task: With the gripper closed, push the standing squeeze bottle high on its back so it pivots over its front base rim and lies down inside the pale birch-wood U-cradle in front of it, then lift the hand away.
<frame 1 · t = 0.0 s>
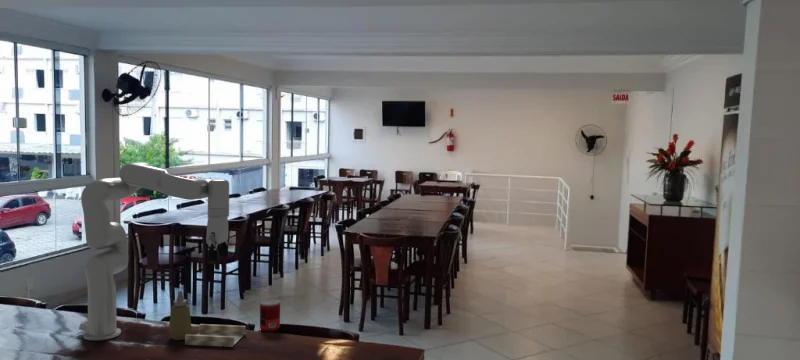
hand: (218, 258, 204), 31 cm above the table, tool pointing down, fingers open, 9 cm apart
canned food: (269, 329, 220), on the table
squeeze bottle: (180, 338, 207), on the table
cradle: (216, 339, 206), on the table
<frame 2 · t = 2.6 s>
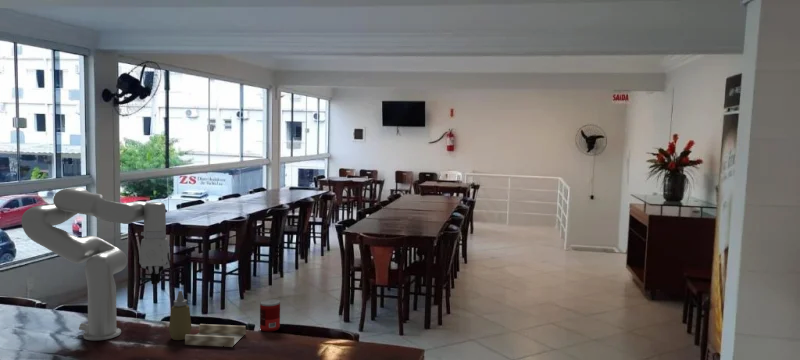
hand: (155, 283, 207), 21 cm above the table, tool pointing down, fingers closed
nothing on the table moved.
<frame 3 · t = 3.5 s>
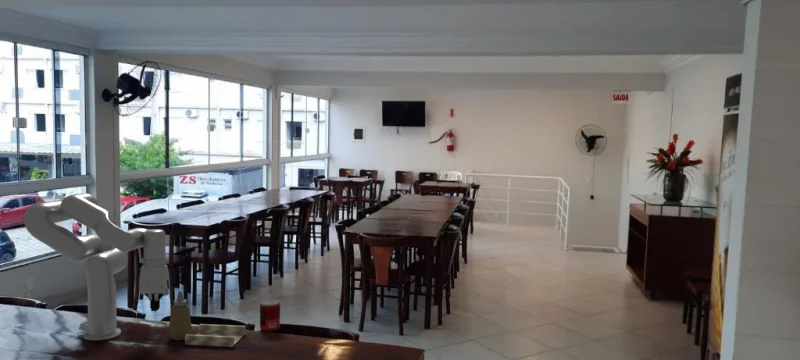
hand: (155, 310, 207), 10 cm above the table, tool pointing down, fingers closed
nothing on the table moved.
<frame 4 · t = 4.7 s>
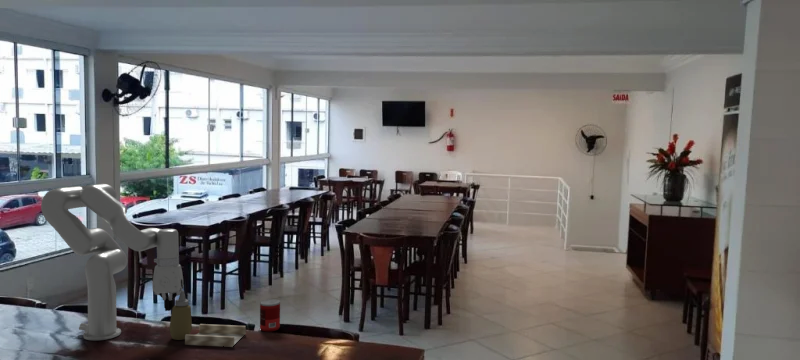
hand: (169, 309, 207), 11 cm above the table, tool pointing down, fingers closed
squeeze bottle: (180, 338, 207), on the table, touching gripper
everything else where it was.
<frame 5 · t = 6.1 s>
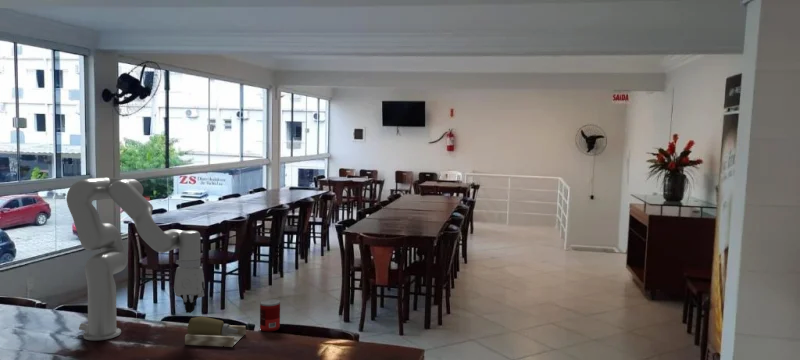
hand: (189, 311, 206), 10 cm above the table, tool pointing down, fingers closed
squeeze bottle: (189, 325, 206), point 5 cm above the table, touching cradle
everything else where it was.
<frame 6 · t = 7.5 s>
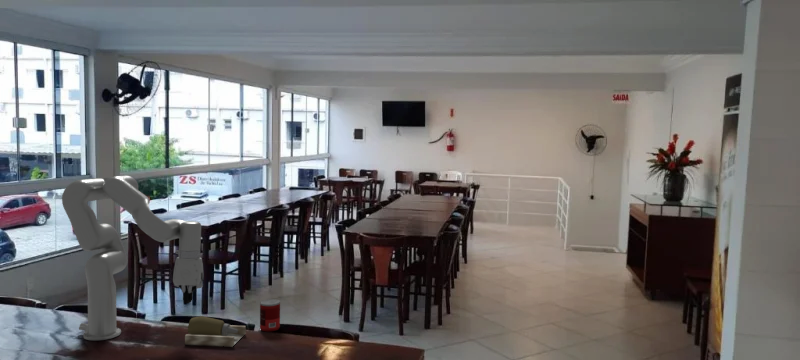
hand: (187, 302, 206), 14 cm above the table, tool pointing down, fingers closed
nothing on the table moved.
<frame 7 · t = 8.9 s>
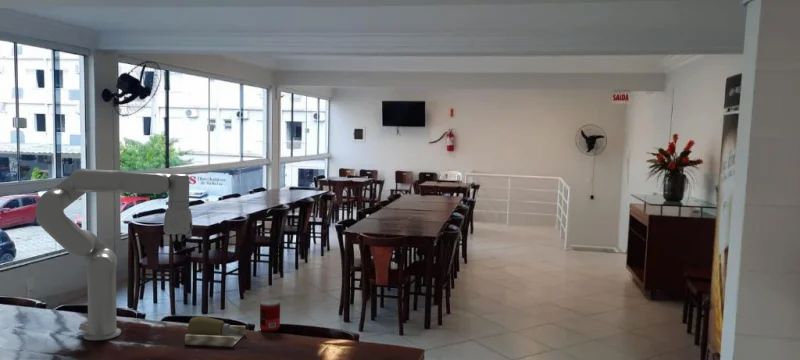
hand: (178, 250, 218), 31 cm above the table, tool pointing down, fingers closed
nothing on the table moved.
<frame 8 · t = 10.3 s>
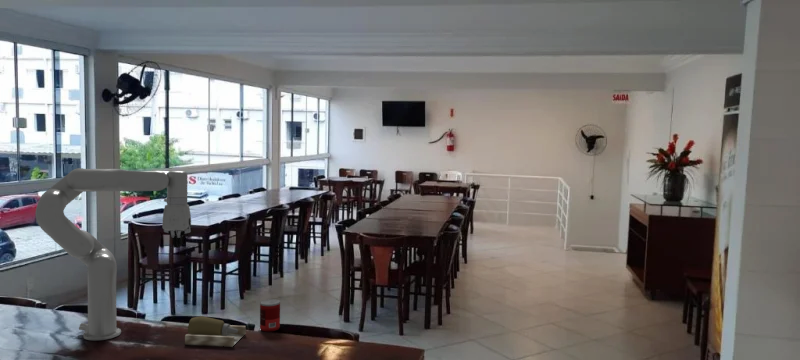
hand: (177, 247, 220), 32 cm above the table, tool pointing down, fingers closed
nothing on the table moved.
at the end: squeeze bottle tilted 95°; squeeze bottle inside the target area on the cradle (4.4 cm from its centre), point 4.8 cm above the cradle's base; squeeze bottle touching cradle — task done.
